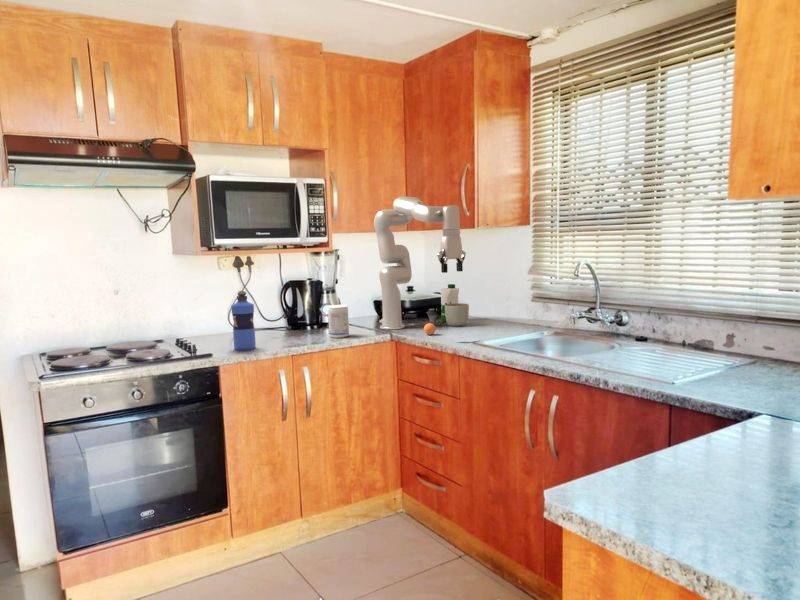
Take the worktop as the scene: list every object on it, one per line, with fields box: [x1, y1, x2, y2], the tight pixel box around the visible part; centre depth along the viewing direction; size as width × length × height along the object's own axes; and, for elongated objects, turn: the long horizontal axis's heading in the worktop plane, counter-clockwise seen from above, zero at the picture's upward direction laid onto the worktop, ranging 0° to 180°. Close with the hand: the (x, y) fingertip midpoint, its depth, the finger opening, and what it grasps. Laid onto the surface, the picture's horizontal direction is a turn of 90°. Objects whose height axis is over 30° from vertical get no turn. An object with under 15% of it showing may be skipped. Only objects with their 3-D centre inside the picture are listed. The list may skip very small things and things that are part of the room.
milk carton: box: [439, 283, 460, 322], centre depth 308 cm, size 9×9×20 cm
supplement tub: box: [327, 304, 350, 339], centre depth 269 cm, size 10×10×15 cm
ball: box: [423, 322, 437, 336], centre depth 267 cm, size 6×6×6 cm
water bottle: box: [230, 290, 257, 352], centre depth 244 cm, size 9×9×25 cm
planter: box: [445, 302, 470, 327], centre depth 293 cm, size 12×12×11 cm
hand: (452, 271), depth 255 cm, fingers open, 9 cm apart
